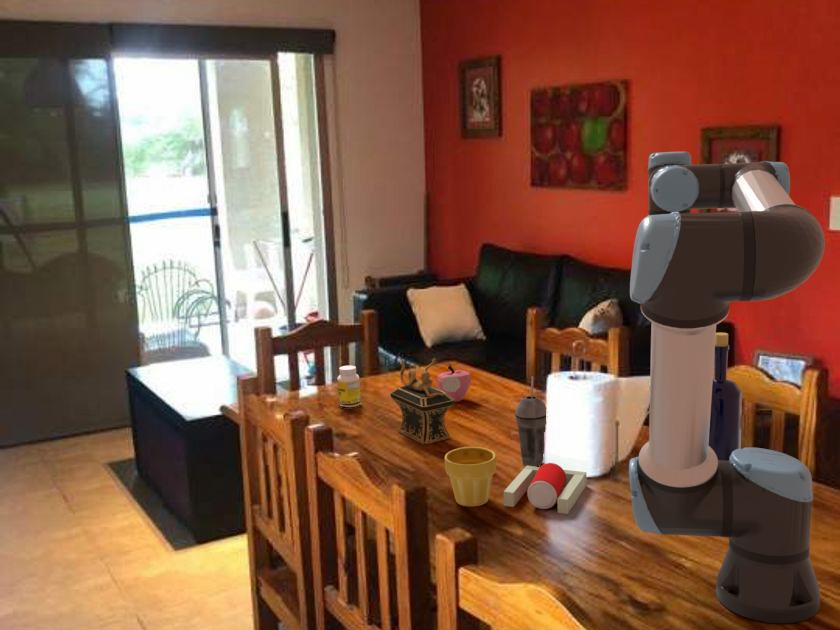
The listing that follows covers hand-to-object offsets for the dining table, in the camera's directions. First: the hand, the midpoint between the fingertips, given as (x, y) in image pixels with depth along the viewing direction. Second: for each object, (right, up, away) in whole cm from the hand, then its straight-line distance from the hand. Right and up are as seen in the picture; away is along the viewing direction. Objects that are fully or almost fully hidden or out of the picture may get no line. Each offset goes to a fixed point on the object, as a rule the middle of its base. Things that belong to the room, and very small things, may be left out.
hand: (668, 361), depth 169 cm
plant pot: (-36, -29, +14) cm, 49 cm away
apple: (-37, -16, +82) cm, 92 cm away
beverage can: (-23, -27, +6) cm, 36 cm away
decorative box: (-47, -21, +57) cm, 76 cm away
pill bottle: (-66, -17, +83) cm, 107 cm away
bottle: (+17, -25, +23) cm, 38 cm away
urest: (-21, -28, +14) cm, 38 cm away
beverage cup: (-22, -25, +32) cm, 46 cm away
